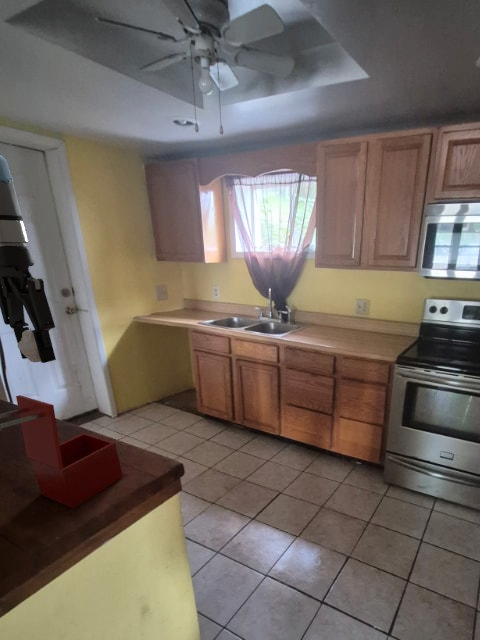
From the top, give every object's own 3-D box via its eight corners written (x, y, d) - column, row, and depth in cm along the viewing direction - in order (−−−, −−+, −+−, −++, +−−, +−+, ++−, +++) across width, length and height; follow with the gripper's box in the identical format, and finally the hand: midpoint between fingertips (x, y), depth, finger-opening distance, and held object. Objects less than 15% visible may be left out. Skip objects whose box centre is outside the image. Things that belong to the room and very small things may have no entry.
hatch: (20, 395, 73) (-41, 408, 64) (53, 404, 69) (-7, 420, 60) (31, 455, 77) (-25, 475, 68) (63, 468, 73) (7, 491, 64)
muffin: (61, 356, 84) (54, 325, 81) (43, 364, 78) (34, 332, 76) (35, 355, 84) (26, 325, 81) (15, 364, 79) (5, 331, 76)
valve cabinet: (93, 467, 91) (84, 432, 87) (123, 478, 87) (115, 442, 83) (42, 496, 81) (29, 458, 77) (73, 510, 77) (61, 470, 73)
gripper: (56, 245, 71) (83, 360, 81) (-1, 244, 79) (30, 349, 88) (15, 245, 65) (49, 370, 74) (-43, 244, 73) (-6, 358, 82)
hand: (39, 359), depth 81 cm, fingers closed on muffin, 6 cm apart
